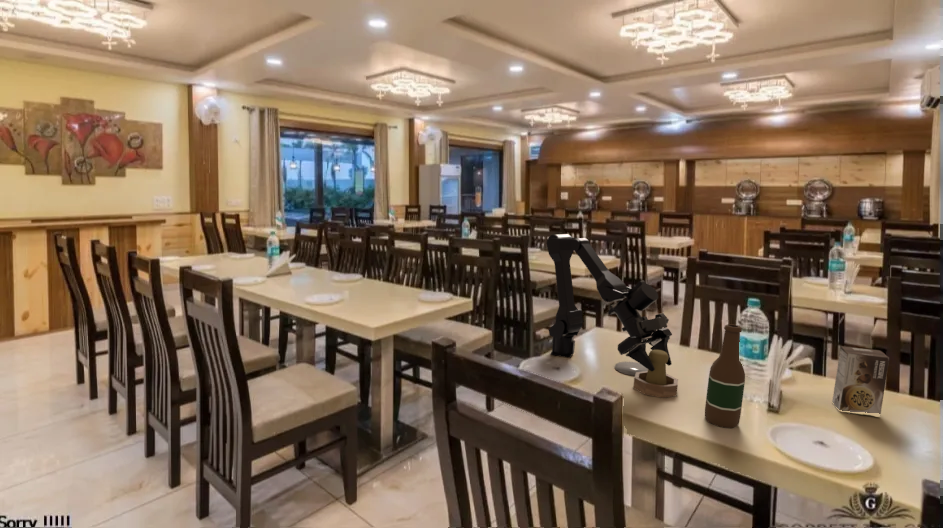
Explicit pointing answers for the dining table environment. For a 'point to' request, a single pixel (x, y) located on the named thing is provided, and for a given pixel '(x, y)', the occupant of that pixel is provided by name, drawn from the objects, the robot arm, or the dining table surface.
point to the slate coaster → (630, 368)
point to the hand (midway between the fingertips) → (662, 367)
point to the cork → (657, 367)
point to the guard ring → (655, 386)
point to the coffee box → (860, 380)
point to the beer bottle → (726, 382)
